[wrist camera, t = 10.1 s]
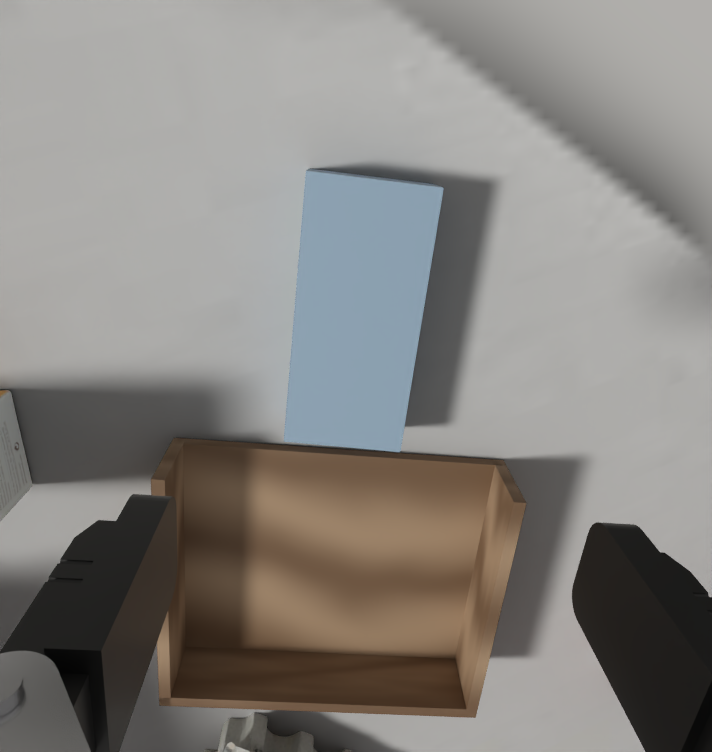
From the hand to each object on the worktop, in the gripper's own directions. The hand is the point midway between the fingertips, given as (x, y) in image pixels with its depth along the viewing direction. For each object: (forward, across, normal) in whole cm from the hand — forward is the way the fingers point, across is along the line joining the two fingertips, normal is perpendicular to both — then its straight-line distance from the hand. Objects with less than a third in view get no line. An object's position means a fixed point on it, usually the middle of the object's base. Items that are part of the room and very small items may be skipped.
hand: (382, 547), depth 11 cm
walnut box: (+18, 0, +14) cm, 23 cm away
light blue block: (+18, 0, 0) cm, 18 cm away
